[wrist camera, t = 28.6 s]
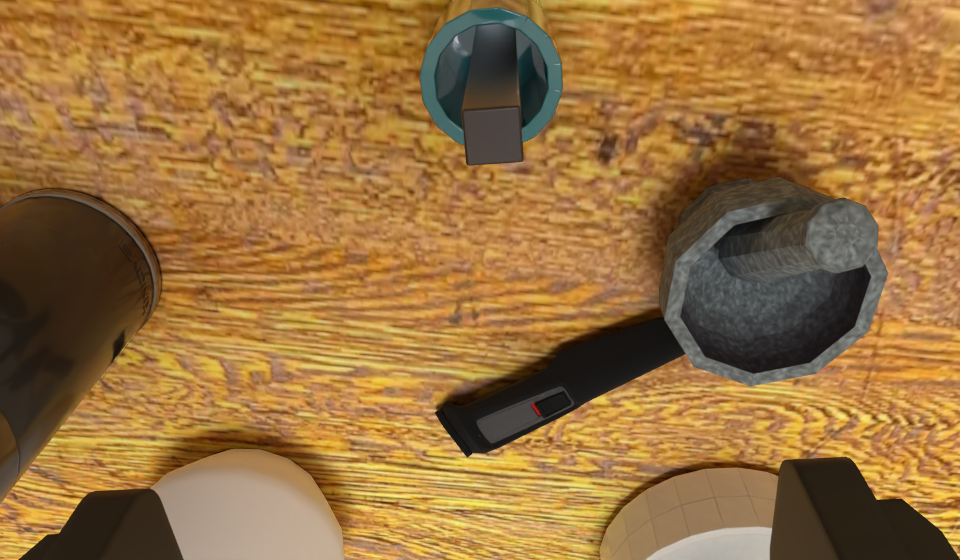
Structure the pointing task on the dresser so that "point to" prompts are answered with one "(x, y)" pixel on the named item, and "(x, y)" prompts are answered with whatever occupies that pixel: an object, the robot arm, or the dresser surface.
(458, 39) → the cup
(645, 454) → the dresser surface
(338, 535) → the cup
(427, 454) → the dresser surface
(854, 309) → the mortar and pestle
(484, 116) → the stick
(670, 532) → the bowl
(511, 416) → the electric trimmer
